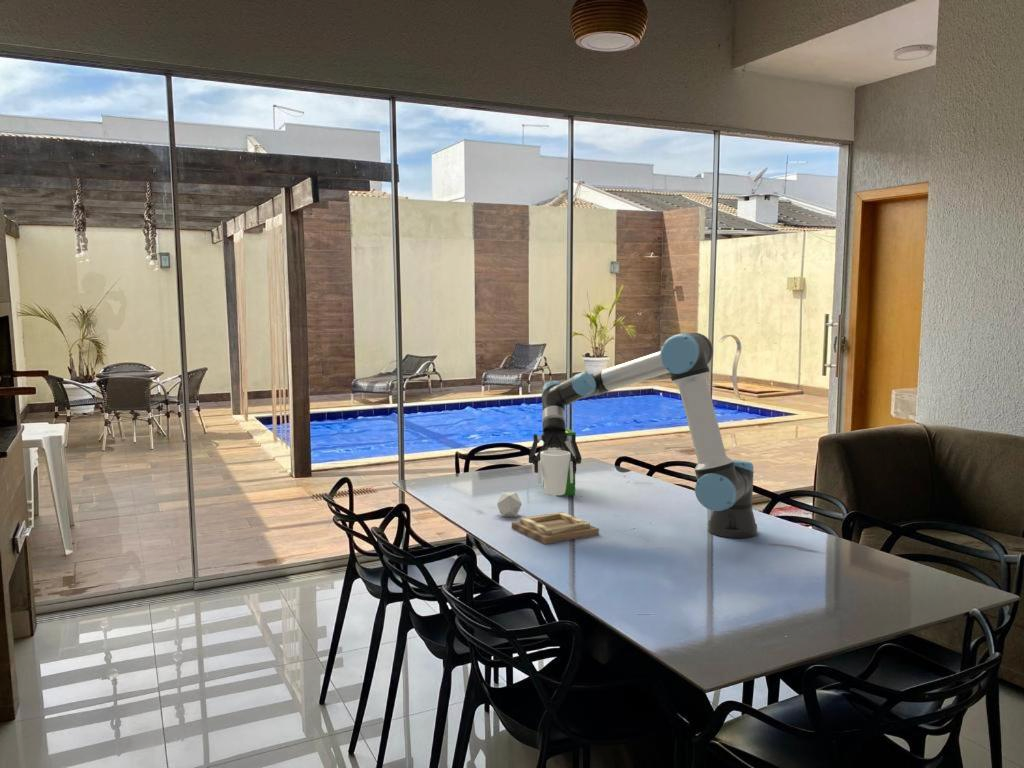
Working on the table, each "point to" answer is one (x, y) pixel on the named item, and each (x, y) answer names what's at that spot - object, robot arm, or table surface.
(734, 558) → the table surface
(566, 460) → the foam cup
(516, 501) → the die
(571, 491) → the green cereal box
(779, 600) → the table surface
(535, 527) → the base board
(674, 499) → the table surface
